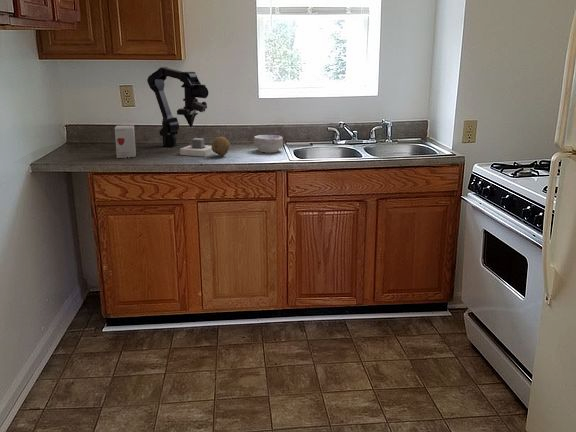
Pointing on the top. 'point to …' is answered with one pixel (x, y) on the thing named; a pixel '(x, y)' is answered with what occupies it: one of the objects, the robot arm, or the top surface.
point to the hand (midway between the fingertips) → (191, 126)
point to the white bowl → (268, 143)
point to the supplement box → (125, 141)
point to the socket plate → (196, 151)
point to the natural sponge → (220, 146)
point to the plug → (198, 143)
